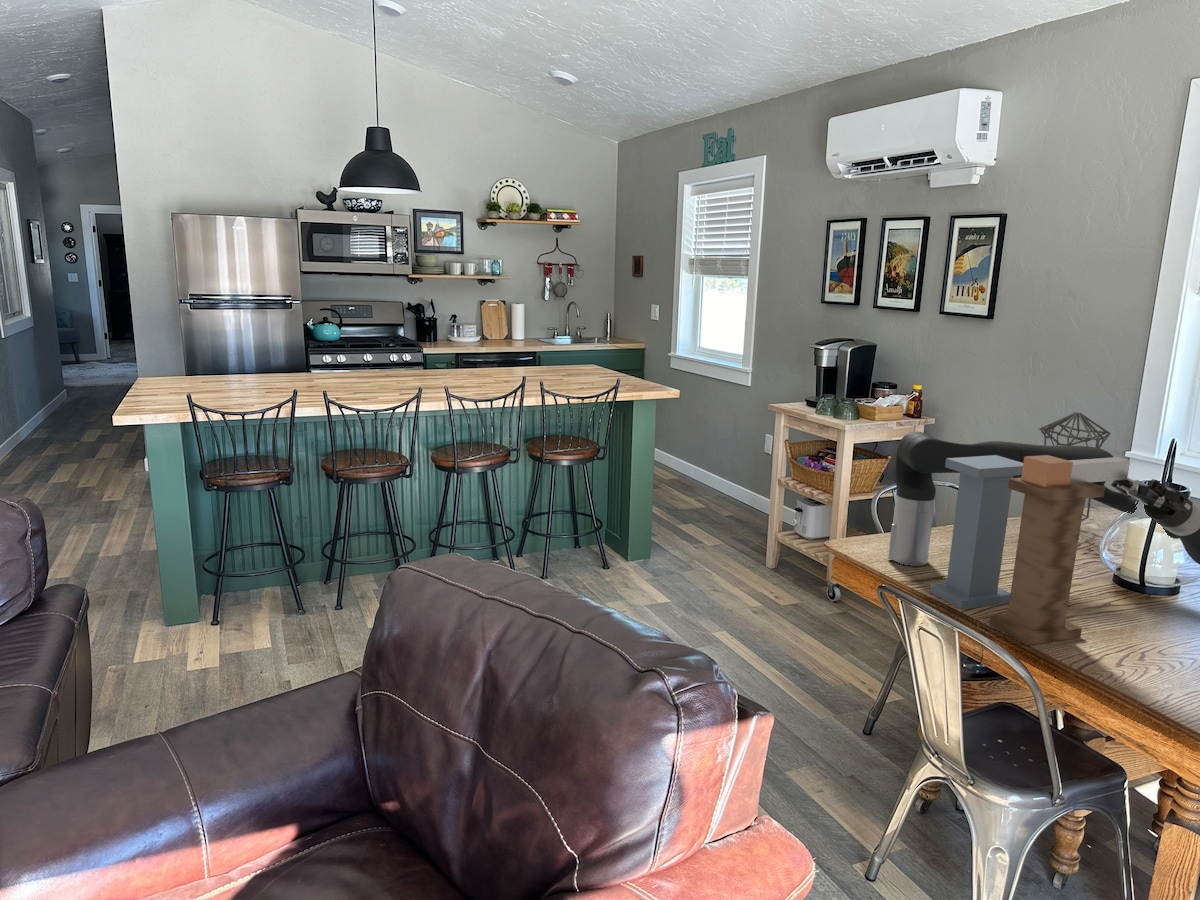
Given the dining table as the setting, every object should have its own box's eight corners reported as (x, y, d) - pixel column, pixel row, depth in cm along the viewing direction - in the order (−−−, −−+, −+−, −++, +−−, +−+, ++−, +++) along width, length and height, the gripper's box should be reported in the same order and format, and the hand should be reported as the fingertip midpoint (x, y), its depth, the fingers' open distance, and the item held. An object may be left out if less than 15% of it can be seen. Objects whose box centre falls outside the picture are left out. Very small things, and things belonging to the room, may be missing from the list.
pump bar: (1107, 474, 170) (1111, 450, 169) (1133, 481, 164) (1138, 457, 163) (1020, 480, 163) (1024, 456, 162) (1045, 488, 157) (1049, 463, 156)
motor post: (978, 586, 192) (996, 455, 185) (1011, 602, 183) (1031, 465, 176) (930, 592, 188) (946, 458, 181) (961, 609, 179) (979, 469, 172)
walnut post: (1040, 617, 176) (1062, 474, 169) (1080, 637, 166) (1105, 487, 159) (989, 624, 171) (1009, 478, 164) (1026, 645, 162) (1049, 491, 155)
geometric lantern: (1036, 518, 248) (1056, 405, 240) (1093, 531, 237) (1117, 414, 229) (1017, 528, 237) (1038, 410, 229) (1077, 542, 226) (1101, 419, 218)
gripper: (1197, 537, 166) (1154, 503, 160) (1134, 517, 180) (1091, 485, 174) (1217, 506, 166) (1174, 470, 160) (1151, 488, 179) (1109, 455, 173)
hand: (1131, 478), depth 167 cm, fingers open, 8 cm apart
